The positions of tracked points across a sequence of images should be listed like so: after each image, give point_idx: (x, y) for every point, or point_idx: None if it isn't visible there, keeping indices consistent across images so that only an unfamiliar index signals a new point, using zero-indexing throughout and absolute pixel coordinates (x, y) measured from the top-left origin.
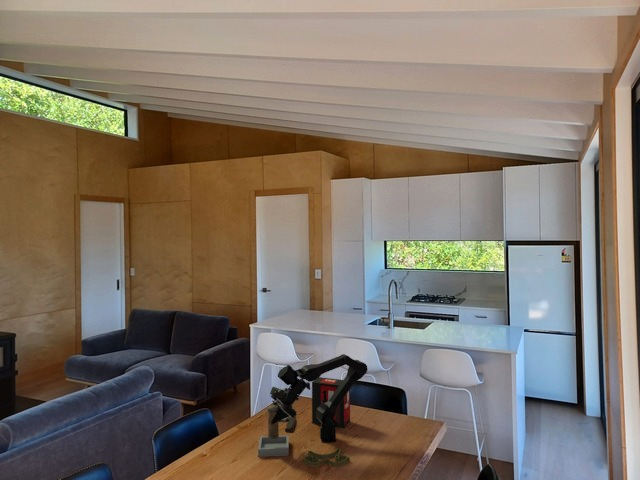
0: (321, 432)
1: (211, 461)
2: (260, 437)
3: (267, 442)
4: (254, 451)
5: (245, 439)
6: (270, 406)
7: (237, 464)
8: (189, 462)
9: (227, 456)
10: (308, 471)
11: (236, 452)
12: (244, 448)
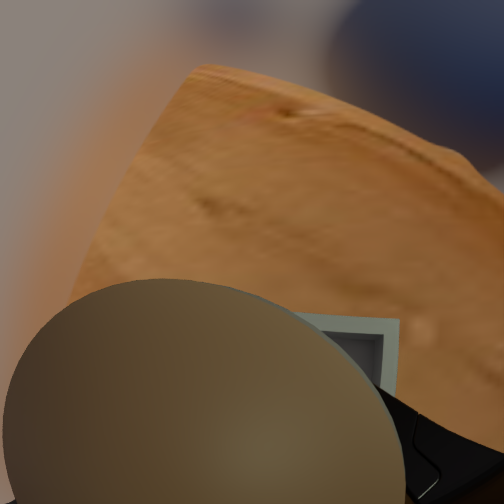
0: None
1: (228, 134)
2: (383, 322)
3: (369, 374)
4: (285, 297)
5: (436, 248)
6: (232, 418)
7: (168, 219)
8: (241, 90)
9: (256, 177)
10: None
11: (290, 209)
12: (332, 244)
